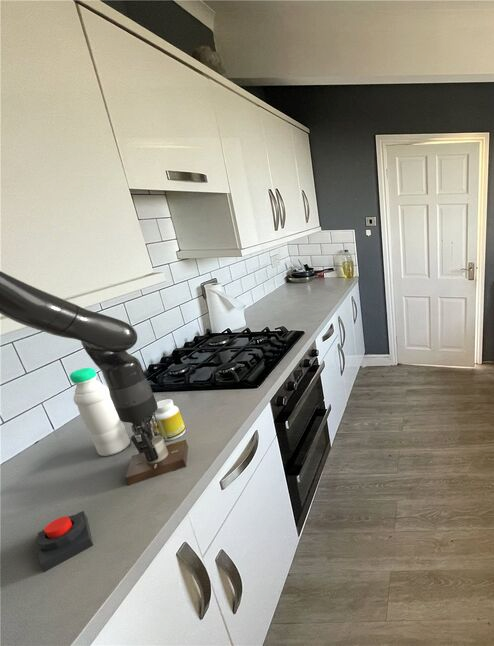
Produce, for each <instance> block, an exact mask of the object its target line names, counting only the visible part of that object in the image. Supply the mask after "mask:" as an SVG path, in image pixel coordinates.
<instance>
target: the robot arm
mask: <svg viewBox="0 0 494 646" xmlns="http://www.w3.org/2000/svg"><path fill="white" fill-rule="evenodd" d="M0 315H2V316H4V317H5V318H7V319H9V320H11V321H13V322H15V323H18V324H20V325H22V326H25V327H28V328H31V329H33V330H34V329H35V330H37V331H41V332H43V333H46V334H50V335H53V336H55V337H60V338H66V339H71V340H77V341H80V342H81V345H82V347H83V349H84V350H85V352H86V354H87V355H88V356H89V358H90V359H91V360H92V362H93V363H94V364H95V365H96V366H97V368H98V369H99V370H100V372H101V373H102V376H103V379H104V381H105V384H106V387H107V388H108V389H109V394H110V397H111V400H112V402H113V405H114V407H115V409H116V412H117V414H118V416H119V419H120V420H121V422H122V423H130V424H131V431H132V433H133V435H131V436H130V441H132V443H133V445H134V446H135V448H136V450H137V452H138V454H140V453H144V454H145V456H146V459H147V461H148V462H151V461H155V460H157V459H158V457H159V456H158V453H157V451H156V448H155V444H154V441H153V438H154V437H155V436H159V432H158V429H157V428H158V427H159V425H158V423H157V419H156V416H155V412H156V410H157V408H158V406H157V401H156V397H155V395H154V393H153V390H152V387H151V384H150V382H149V380H148V379H147V377H146V375H145V372H144V368H143V367H142V364H141V362H140V359H138V357H136V356H134V355H132V354H130V353H129V352H128V350H131V349H133V347H134V346H136V343H137V341H138V333H137V331H136V329H135V328H134V327H133V326H132V325H131V324H130V323H129V322H126V321H124V320H121V319H118V318H116V317H112V316H109V315H105V314H103V313H99V312H96V311H93V310H89V309H87V308H84V307H82V306H80V305H78V304H76V303H73V302H71V301H69V300H66V299H64V298H61V297H59V296H57V295H54V294H51V293H49V292H47V291H45V290H42V289H40V288H37V287H36V286H33V285H31V284H29V283H27V282H24V281H22V280H20V279H18V278H16V277H13V276H11V275H9V274H7V273H6V272H3V271H1V270H0Z"/></svg>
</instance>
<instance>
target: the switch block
mask: <svg viewBox="0 0 494 646" xmlns="http://www.w3.org/2000/svg"><path fill="white" fill-rule="evenodd" d="M67 517H69V518H70V520H71V522H72V524H73V525H72V527H71V529H69V530H68V531H67V532H66V533H64V534H62V535H60V536H58V537H56V538H52V539H50V538H48V537H47V535H46V533H45V532H44V529H42V530H41V531H38V532H37V537H36V544H37V547H38V554H39V555H38V557H39V558H38V559H39V566H40V567H41V569H42V571H43V572H44V573H46V572H48V571H50V570H51V569H53V568H55V567H57V566H59V565H61V564H62V563H64V562H66V561H67V560H69V559H71V558H73V557H75V556H77V555H79V554H80V553H82V552H84V551H86V550H89V548H91V547H93V546H94V542H93V537H92V533H91V528H90V523H89V520H88V517H87V515H86V512H85V511H84V510H82V511H80V512H78V513H76V514H72V515H68V516H67Z"/></svg>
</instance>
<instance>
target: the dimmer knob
mask: <svg viewBox="0 0 494 646" xmlns="http://www.w3.org/2000/svg"><path fill="white" fill-rule="evenodd" d="M153 441H154V444H155V448H156V451H157V453H158V456H159V457H158V459H157V460H155V461H151V462H148V461H147V459H146V456H145V454H144V453H143V456H144V458H145V461H146V463H148V464H153V463H157V462H159V461H161V460H163V459H165V458H166V457H167V456H168V450H167V448H166V445H167V444H166V441H164V440H163V437H162V436H160V435H158V436H155V437H154V438H153Z"/></svg>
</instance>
